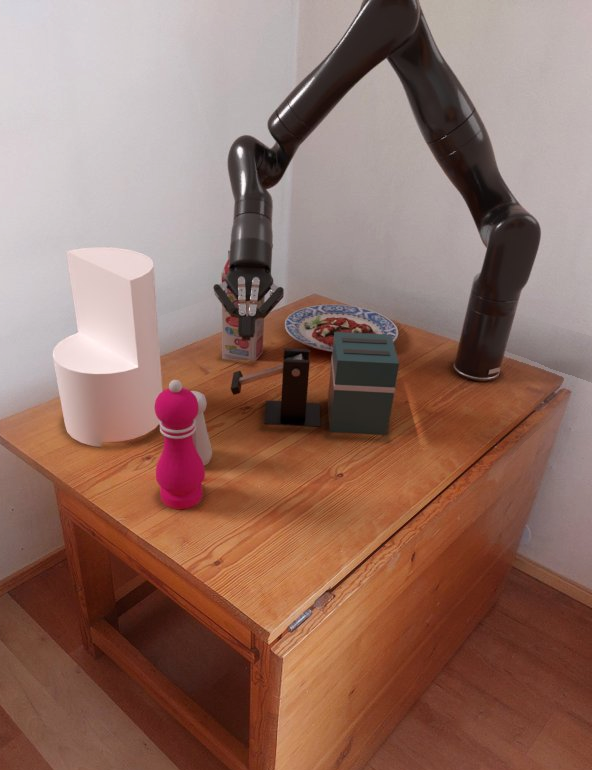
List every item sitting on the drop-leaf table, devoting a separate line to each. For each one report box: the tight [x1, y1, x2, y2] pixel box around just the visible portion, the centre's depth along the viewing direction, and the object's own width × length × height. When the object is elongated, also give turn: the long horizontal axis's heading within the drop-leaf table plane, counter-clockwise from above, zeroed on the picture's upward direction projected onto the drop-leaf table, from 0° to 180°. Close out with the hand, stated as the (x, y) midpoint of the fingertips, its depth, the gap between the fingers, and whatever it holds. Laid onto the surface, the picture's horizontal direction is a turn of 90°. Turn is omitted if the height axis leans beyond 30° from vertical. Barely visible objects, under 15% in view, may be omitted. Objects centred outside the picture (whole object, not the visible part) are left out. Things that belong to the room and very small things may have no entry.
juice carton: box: [221, 249, 266, 362], centre depth 130 cm, size 7×7×22 cm
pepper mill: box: [155, 379, 206, 510], centre depth 91 cm, size 7×7×20 cm
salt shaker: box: [190, 390, 213, 467], centre depth 100 cm, size 6×6×13 cm
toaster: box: [327, 332, 400, 436], centre depth 112 cm, size 10×11×15 cm
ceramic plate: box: [284, 304, 399, 353], centre depth 145 cm, size 26×26×3 cm
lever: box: [230, 354, 304, 396], centre depth 111 cm, size 13×6×2 cm, turn 87°
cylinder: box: [52, 246, 164, 448], centre depth 105 cm, size 17×17×28 cm
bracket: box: [263, 347, 322, 428], centre depth 112 cm, size 10×8×13 cm
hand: (246, 339), depth 111 cm, fingers closed
